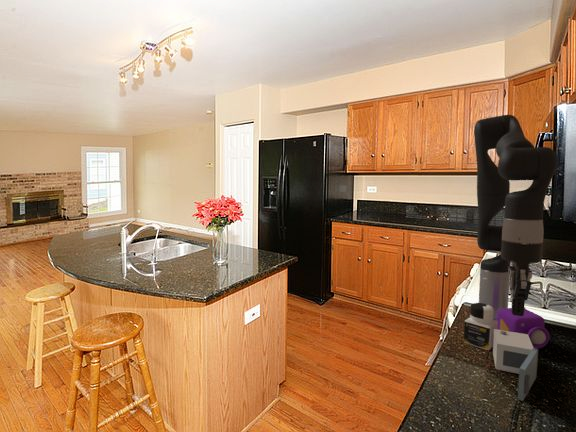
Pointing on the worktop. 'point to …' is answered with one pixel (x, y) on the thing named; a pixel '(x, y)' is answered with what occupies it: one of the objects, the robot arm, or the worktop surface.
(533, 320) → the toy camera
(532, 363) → the case door
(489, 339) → the medicine bottle
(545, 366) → the worktop surface
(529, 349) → the camera case
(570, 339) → the worktop surface
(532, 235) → the robot arm
